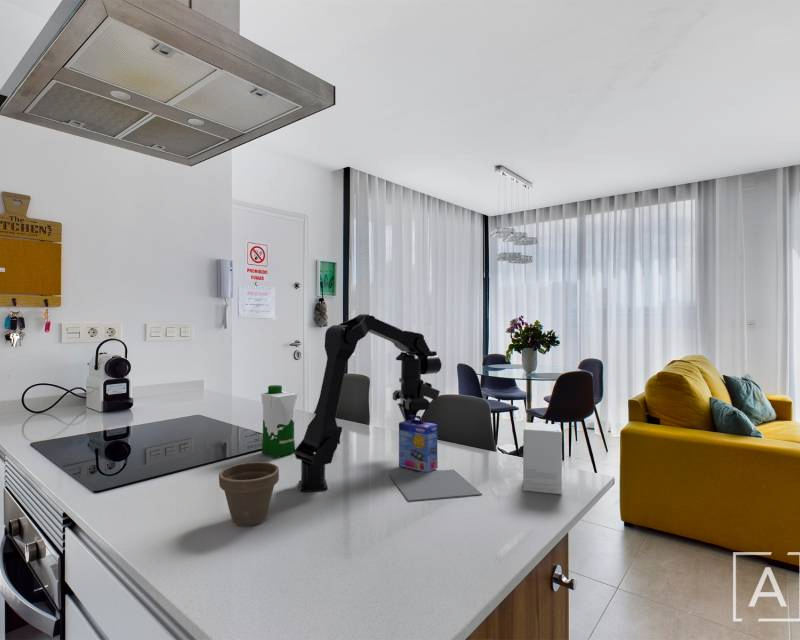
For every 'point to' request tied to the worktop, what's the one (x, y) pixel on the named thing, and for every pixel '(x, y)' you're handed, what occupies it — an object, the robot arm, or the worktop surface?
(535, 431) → the supplement box
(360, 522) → the worktop surface
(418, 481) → the charcoal mat
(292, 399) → the milk carton
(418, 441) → the ink cartridge box
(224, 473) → the flower pot
